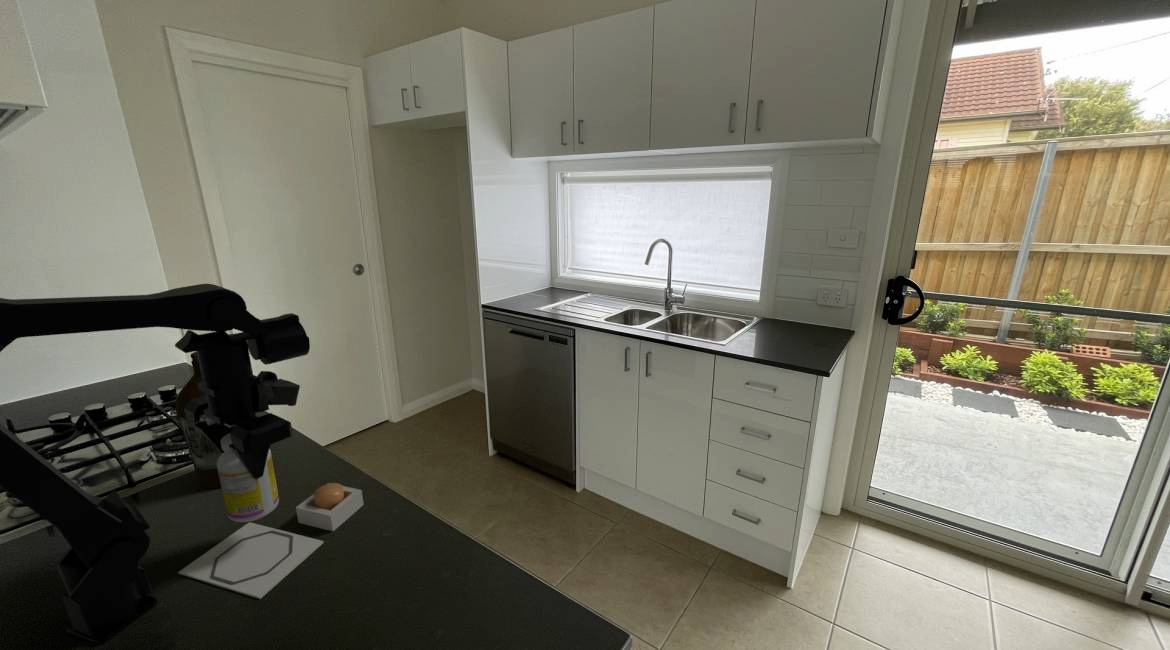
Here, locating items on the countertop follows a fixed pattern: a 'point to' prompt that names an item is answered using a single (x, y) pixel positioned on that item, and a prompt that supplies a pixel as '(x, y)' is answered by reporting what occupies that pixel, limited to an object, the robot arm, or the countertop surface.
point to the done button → (328, 496)
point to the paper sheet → (252, 559)
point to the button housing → (330, 518)
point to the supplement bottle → (245, 486)
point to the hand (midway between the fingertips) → (246, 470)
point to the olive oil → (197, 433)
